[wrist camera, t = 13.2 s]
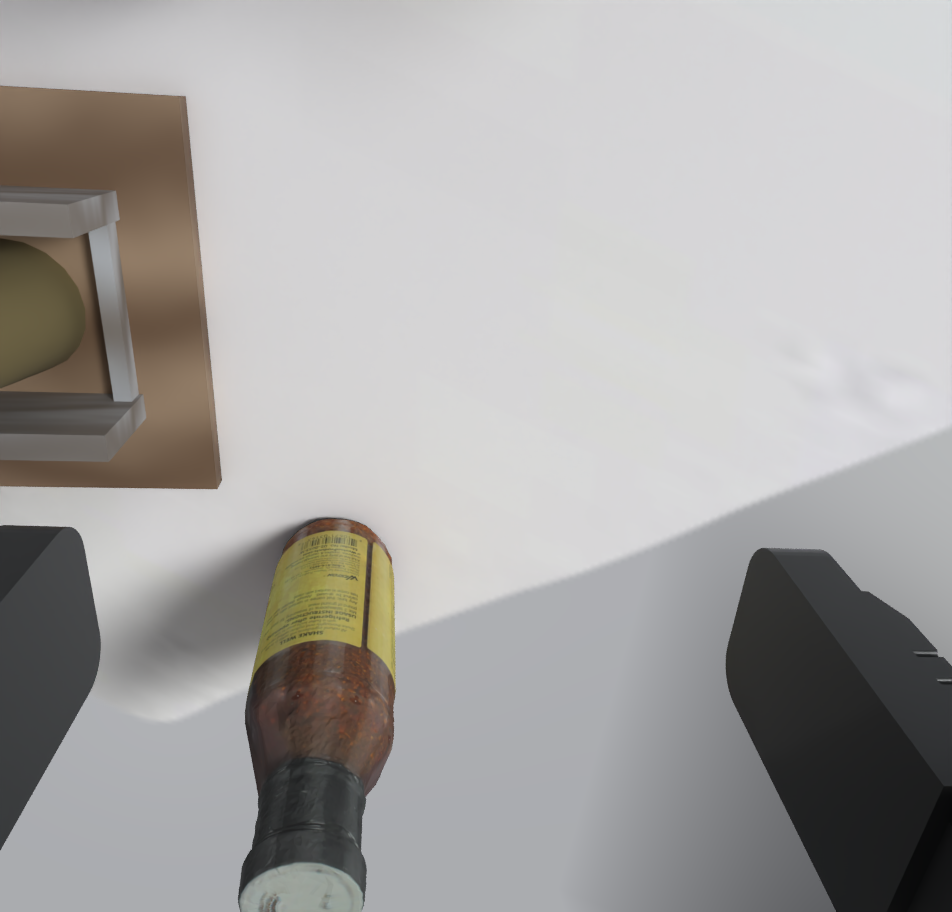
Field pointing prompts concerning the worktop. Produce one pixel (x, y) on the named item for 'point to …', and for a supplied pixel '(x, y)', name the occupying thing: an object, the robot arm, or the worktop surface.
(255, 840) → the sauce bottle
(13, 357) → the olive rounded bulbous part
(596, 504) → the worktop surface
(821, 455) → the worktop surface
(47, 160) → the shaker holder
